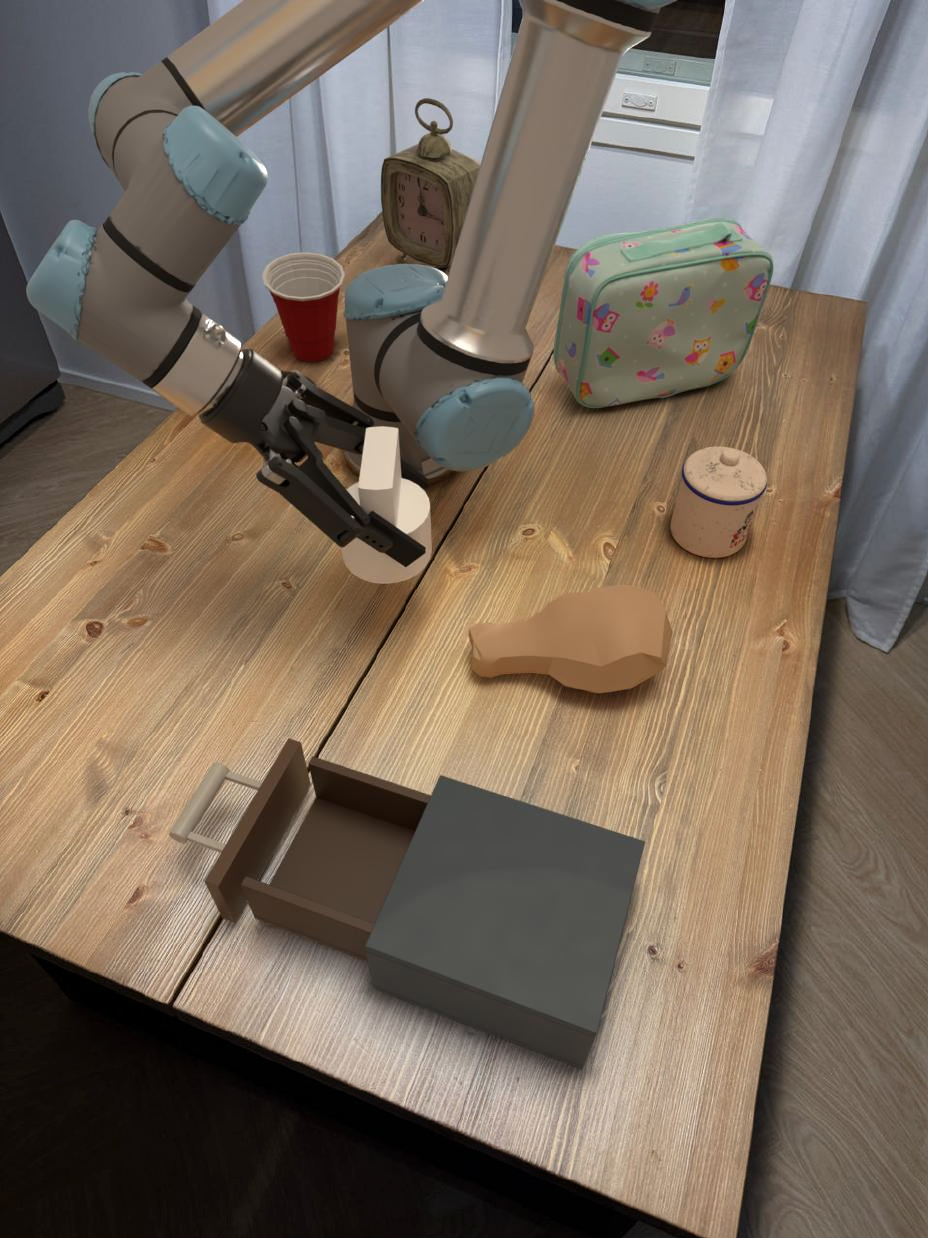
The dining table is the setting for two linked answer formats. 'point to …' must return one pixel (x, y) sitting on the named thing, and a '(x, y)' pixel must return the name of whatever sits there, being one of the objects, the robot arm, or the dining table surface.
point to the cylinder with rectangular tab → (387, 509)
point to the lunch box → (659, 311)
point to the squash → (581, 640)
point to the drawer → (309, 847)
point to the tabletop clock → (427, 195)
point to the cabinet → (506, 919)
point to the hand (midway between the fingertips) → (417, 522)
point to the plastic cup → (306, 301)
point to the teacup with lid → (717, 501)
